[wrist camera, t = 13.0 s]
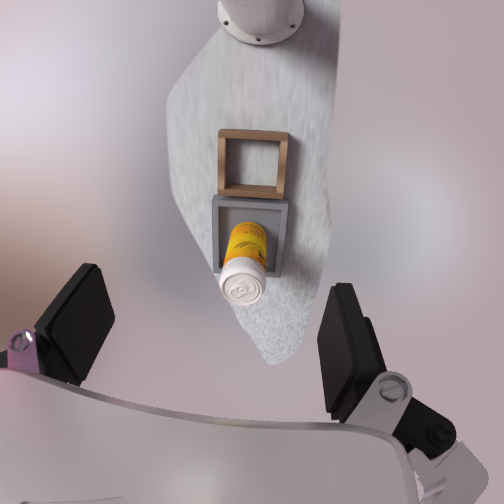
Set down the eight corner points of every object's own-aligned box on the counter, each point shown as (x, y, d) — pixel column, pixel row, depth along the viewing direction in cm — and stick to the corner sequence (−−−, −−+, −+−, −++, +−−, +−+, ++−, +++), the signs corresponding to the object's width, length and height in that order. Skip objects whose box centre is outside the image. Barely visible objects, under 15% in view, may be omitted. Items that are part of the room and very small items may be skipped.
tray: (214, 194, 47) (211, 199, 45) (287, 198, 47) (288, 204, 44) (215, 265, 54) (213, 273, 52) (279, 269, 54) (280, 277, 52)
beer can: (273, 238, 50) (274, 294, 37) (245, 256, 52) (238, 314, 39) (252, 212, 48) (245, 263, 35) (224, 232, 50) (208, 285, 37)
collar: (221, 128, 41) (218, 131, 39) (287, 132, 41) (288, 135, 38) (220, 189, 46) (217, 195, 44) (281, 192, 46) (282, 199, 44)
